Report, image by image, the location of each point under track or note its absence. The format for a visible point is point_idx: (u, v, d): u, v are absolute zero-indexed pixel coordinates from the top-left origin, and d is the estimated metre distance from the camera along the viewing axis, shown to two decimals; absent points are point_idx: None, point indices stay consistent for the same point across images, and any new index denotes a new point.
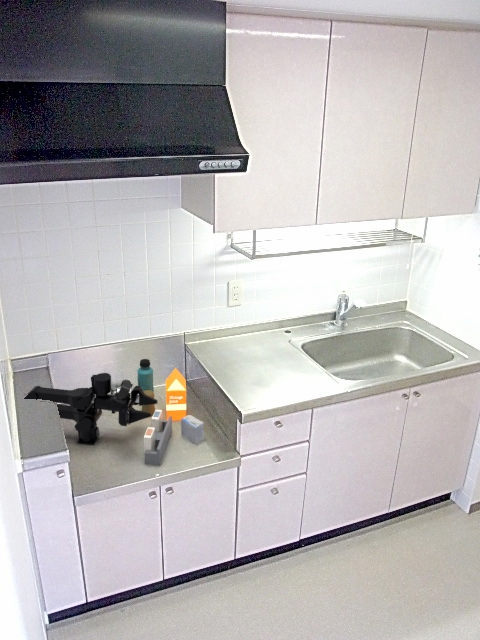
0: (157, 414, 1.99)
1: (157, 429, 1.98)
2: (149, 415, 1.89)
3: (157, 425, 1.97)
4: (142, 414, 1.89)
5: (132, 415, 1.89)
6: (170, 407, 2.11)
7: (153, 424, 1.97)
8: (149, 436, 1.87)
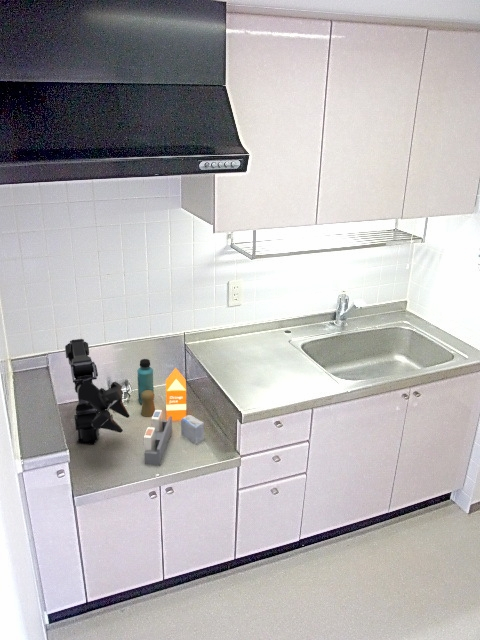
0: (157, 414, 1.99)
1: (157, 429, 1.98)
2: (120, 431, 1.85)
3: (157, 425, 1.97)
4: (116, 427, 1.84)
5: (106, 422, 1.83)
6: (170, 407, 2.11)
7: (153, 424, 1.97)
8: (149, 436, 1.87)
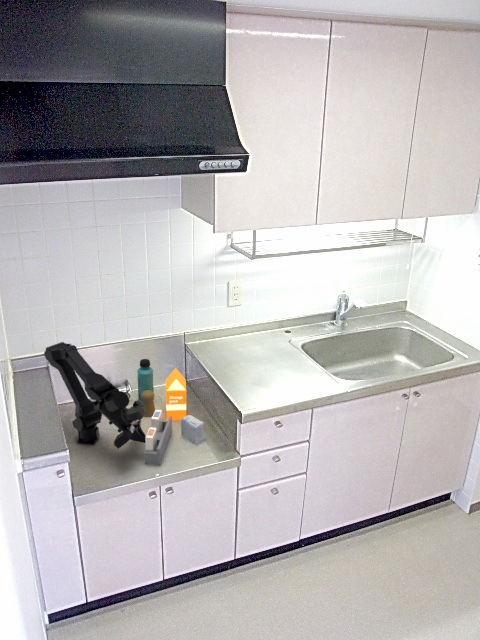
0: (157, 414, 1.99)
1: (157, 429, 1.98)
2: None
3: (157, 425, 1.97)
4: (141, 438, 1.89)
5: (132, 433, 1.88)
6: (170, 407, 2.11)
7: (153, 424, 1.97)
8: (151, 436, 1.87)
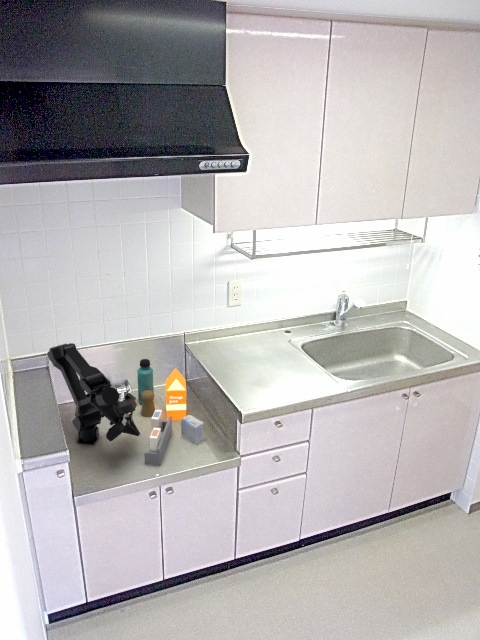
0: (157, 414, 1.99)
1: None
2: (137, 435, 1.90)
3: (157, 425, 1.97)
4: (133, 431, 1.89)
5: None
6: (170, 407, 2.11)
7: (153, 424, 1.97)
8: (155, 437, 1.87)
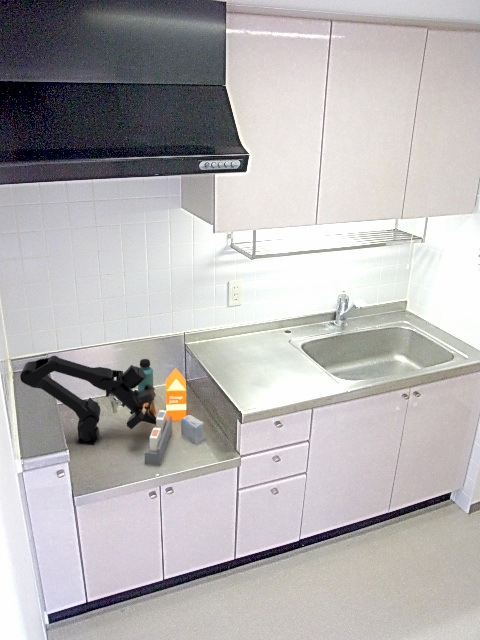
0: (162, 414, 1.99)
1: (162, 429, 1.98)
2: None
3: (162, 425, 1.97)
4: (152, 420, 1.99)
5: (143, 415, 1.98)
6: (170, 407, 2.11)
7: (158, 424, 1.97)
8: (155, 437, 1.87)
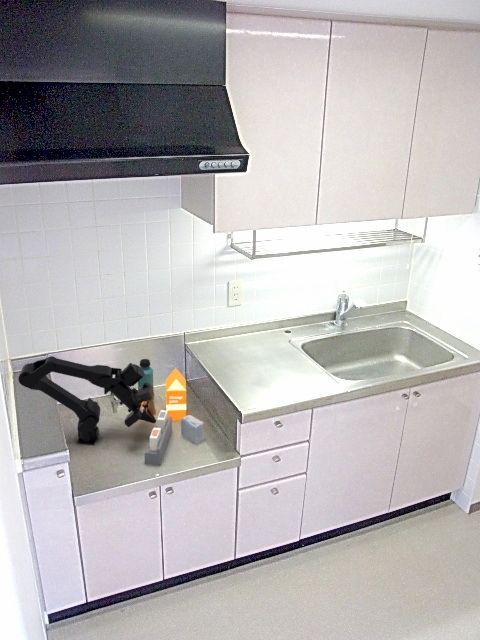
0: (163, 414, 1.99)
1: (163, 430, 1.98)
2: (154, 422, 2.00)
3: (163, 425, 1.97)
4: (150, 418, 1.99)
5: (141, 413, 1.98)
6: (170, 407, 2.11)
7: (159, 424, 1.97)
8: (155, 437, 1.87)
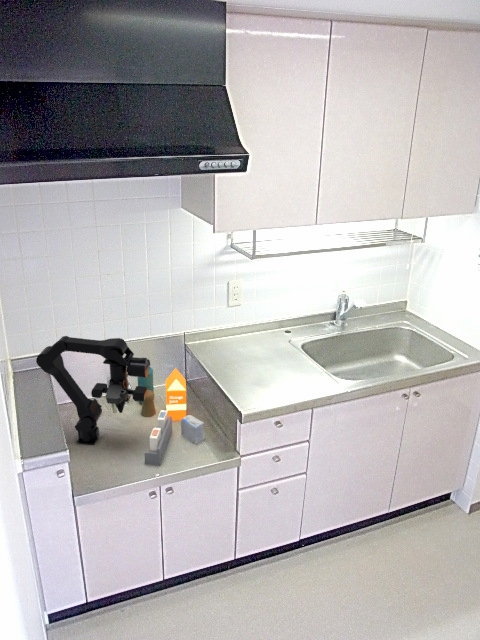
0: (163, 414, 1.99)
1: (163, 430, 1.98)
2: None
3: (163, 425, 1.97)
4: None
5: None
6: (170, 407, 2.11)
7: (159, 424, 1.97)
8: (155, 437, 1.87)
